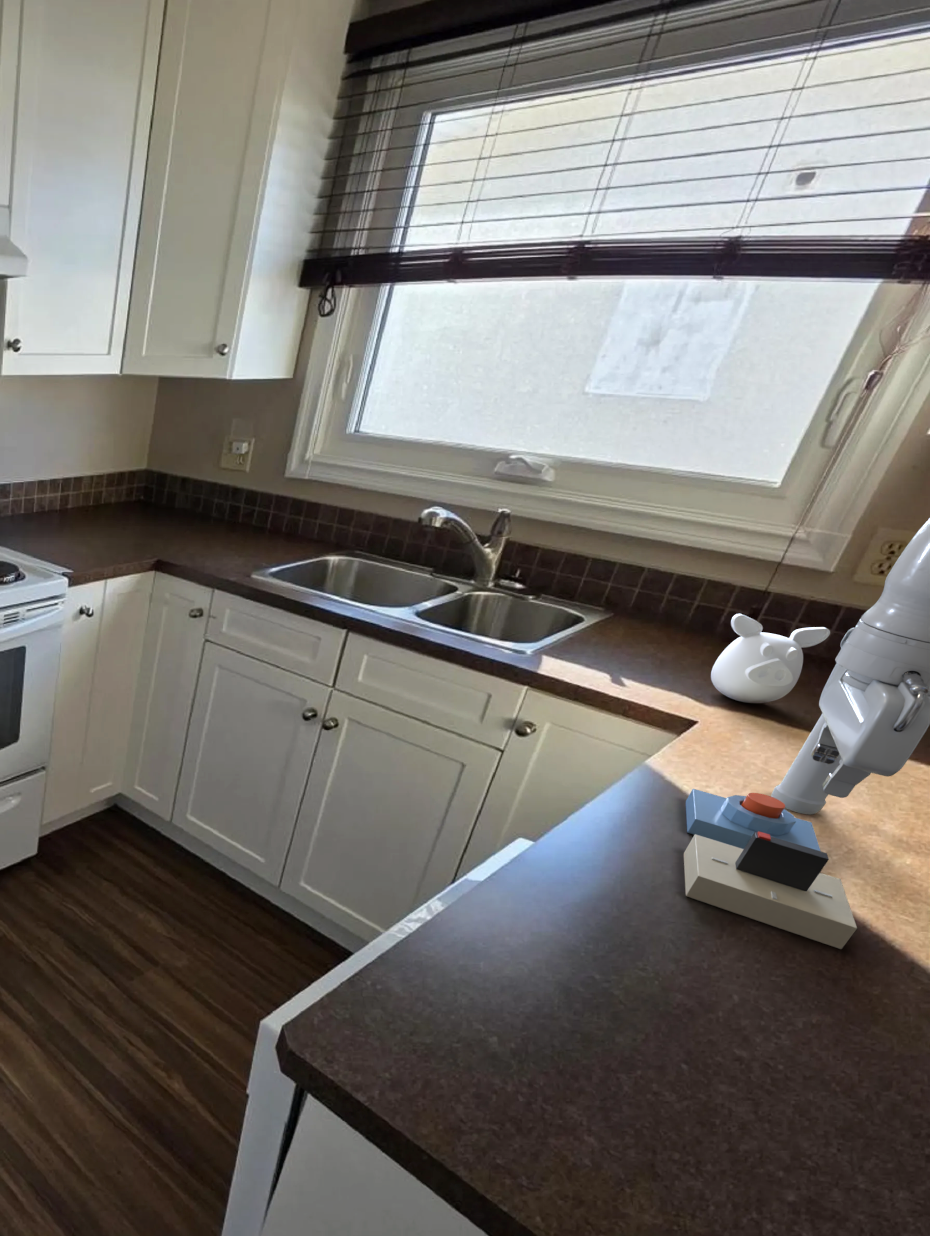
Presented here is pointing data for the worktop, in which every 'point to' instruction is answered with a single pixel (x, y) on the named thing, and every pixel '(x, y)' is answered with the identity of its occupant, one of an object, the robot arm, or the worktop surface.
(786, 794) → the bottle
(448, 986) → the worktop surface
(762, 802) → the button
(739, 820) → the button housing
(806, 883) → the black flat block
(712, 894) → the box
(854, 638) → the robot arm
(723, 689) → the piggy bank
